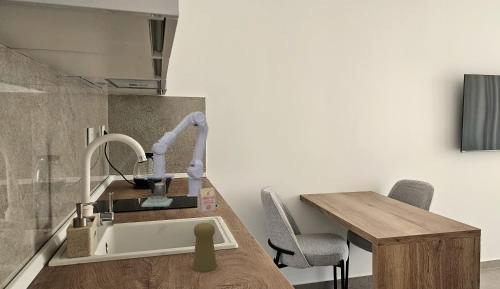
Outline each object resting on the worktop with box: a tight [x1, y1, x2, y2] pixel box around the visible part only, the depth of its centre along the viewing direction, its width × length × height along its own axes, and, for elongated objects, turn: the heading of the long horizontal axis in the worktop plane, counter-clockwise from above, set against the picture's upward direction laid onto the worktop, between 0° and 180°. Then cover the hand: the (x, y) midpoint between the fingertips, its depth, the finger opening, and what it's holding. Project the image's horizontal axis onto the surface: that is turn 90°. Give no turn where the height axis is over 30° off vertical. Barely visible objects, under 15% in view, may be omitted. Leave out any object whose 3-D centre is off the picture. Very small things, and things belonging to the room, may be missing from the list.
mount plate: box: [141, 198, 174, 208], centre depth 162 cm, size 12×12×1 cm
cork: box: [192, 222, 218, 273], centre depth 86 cm, size 6×6×11 cm
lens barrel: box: [154, 182, 166, 196], centre depth 173 cm, size 5×5×8 cm
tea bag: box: [196, 187, 217, 214], centre depth 146 cm, size 4×7×10 cm, turn 119°
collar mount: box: [147, 195, 168, 204], centre depth 162 cm, size 9×9×2 cm
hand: (159, 193), depth 173 cm, fingers open, 6 cm apart
